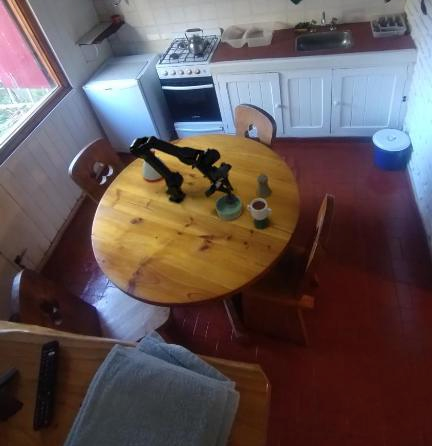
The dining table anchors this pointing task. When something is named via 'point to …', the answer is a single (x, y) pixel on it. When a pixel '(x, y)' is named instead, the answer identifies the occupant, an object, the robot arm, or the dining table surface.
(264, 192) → the pepper mill
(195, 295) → the dining table surface
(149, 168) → the kitchen timer
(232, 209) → the bowl
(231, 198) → the grey peg stand
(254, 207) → the character mug
